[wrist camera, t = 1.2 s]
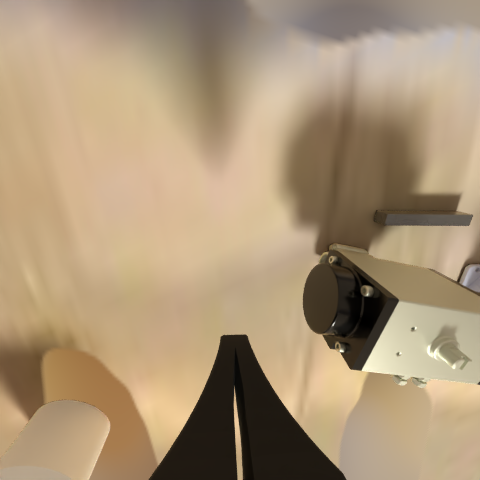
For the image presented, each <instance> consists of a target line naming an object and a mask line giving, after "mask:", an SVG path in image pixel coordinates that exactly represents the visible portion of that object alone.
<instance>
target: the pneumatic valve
mask: <svg viewBox="0 0 480 480" xmlns="http://www.w3.org/2000/svg"><path fill="white" fill-rule="evenodd" d="M303 310H304V315H305V319H306V321H307V324H308V326H309V327H310V329H311V330H312V331H314V332H315V333H317V334H322V335H323V337H324V339H325V341H326V342H327V344H328V346H329V348H330V349H336V350H337V351H338V352H340V353H341V355H342V356H343V358H344V360H345V361H346V363H347V365H348V366H349V368H350V369H351V370H360V371H368V372H376V373H385V374H390V376H391V378H392V380H393V381H395V382H396V383H397V384H399V385H406V383H407V379H410V380H411V381H412V382H413V383H414V384H415V385H416V386H418V387H421V388H423V387H426V385H427V383H426V382H428V381H430V379H435V380H444V381H452V382H461V383H469V384H477V385H480V292H476V291H473V290H471V289H470V288H468V287H466V286H464V285H462V284H460V283H458V282H456V281H454V280H452V279H450V278H449V277H447V276H445V275H443V274H441V273H439V272H437V271H435V270H433V269H428V268H423V267H418V266H413V265H408V264H403V263H398V262H393V261H388V260H383V259H377V258H374V257H373V256H371V255H369V253H368V252H367V251H366V250H365V249H362V248H357V247H352V246H347V245H342V244H337V243H333V244H332V245H330V246H329V252H324V253H323V254H322V255H321V257H320V259H319V264H318V265H316V266H315V267H314V268H313V269H312V270H311V272H310V273H309V275H308V277H307V280H306V283H305V287H304V293H303Z"/></svg>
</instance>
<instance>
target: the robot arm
mask: <svg viewBox="0 0 480 480" xmlns="http://www.w3.org/2000/svg"><path fill="white" fill-rule="evenodd" d="M459 283H460V284H462V285H464V286H466V287H468V288H470V289H471V290H473V291H476V292H480V264H471V265H468V266H467V267H466V268H465V270H464V273H463V275H462V277H461V280H460V282H459ZM234 386H235V394H236V402H237V411H238V419H239V427H240V435H241V447H242V467H243V480H346V478H345V476H344V474H343V473H342V472H341V471H340V470H339V469H338V468H337V467H336V466H335V465H334V464H333V463H332V462H331V461H330V460H329V459H328V457H327V456H326V455H325V454H324V453H323V452H322V451H321V450H320V449H319V448H318V447H317V446H316V444H315V443H314V442H313V441H312V440H311V439H310V438H309V436H308V435H307V434H306V433H305V432H304V430H303V429H302V428H301V427H300V425H299V424H298V423H297V422H296V420H295V419H294V418H293V417H292V415H291V414H290V413H289V411H288V410H287V409H286V407H285V406H284V404H283V403H282V402H281V400H280V399H279V397H278V396H277V394H276V393H275V391H274V389H273V388H272V386H271V385H270V383H269V381H268V380H267V378H266V376H265V374H264V373H263V371H262V369H261V367H260V365H259V363H258V361H257V359H256V357H255V355H254V352H253V350H252V348H251V345H250V343H249V340H248V336H247V335H223V336H221V340H220V345H219V350H218V353H217V357H216V360H215V362H214V365H213V368H212V371H211V373H210V376H209V378H208V380H207V383H206V385H205V387H204V390H203V392H202V394H201V396H200V398H199V400H198V402H197V404H196V406H195V408H194V410H193V412H192V413H191V415H190V417H189V419H188V421H187V422H186V424H185V426H184V427H183V429H182V431H181V432H180V434H179V436H178V437H177V439H176V440H175V442H174V443H173V445H172V447H171V448H170V450H169V451H168V453H167V454H166V456H165V457H164V459H163V460H162V462H161V463H160V464H159V466H158V467H157V469H156V470H155V471H154V473H153V474H152V476H151V477H150V478H149V480H237V463H236V445H235V426H234V405H233V404H234Z"/></svg>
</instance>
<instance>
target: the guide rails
mask: <svg viewBox="0 0 480 480" xmlns="http://www.w3.org/2000/svg"><path fill="white" fill-rule="evenodd" d="M472 217H473V215H472V214H467V213H462V212H458V211H384V210H376V214H375V218H374V221H375V222H378V223H380V224H383V225H421V226H469V225H470V222H471V220H472Z"/></svg>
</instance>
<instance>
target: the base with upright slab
mask: <svg viewBox="0 0 480 480" xmlns="http://www.w3.org/2000/svg"><path fill="white" fill-rule="evenodd" d="M109 431H110V422H109V420H108V418H107V416H106V415H105V414H104V413H103V412H102V411H101V410H99V409H97V408H96V407H94V406H92V405H90V404H87V403H85V402H80V401H76V400H59V401H53V402H50V403H47V404H44V405H43V406H42V407H40V408H39V409H38V410H37V411H36V412H35V414H34V415H33V416H32V418H31V419H30V420H29V422H28V423H27V424H26V426H25V427H24V428H23V430H22V431H21V432H20V434H19V435H18V436H17V438H16V439H15V440H14V442H13V443H12V444H11V446H10V447H9V448H8V450H7V451H6V452H5V454H4V455H3V456H2V458H1V459H0V480H89V478H90V476H91V473H92V471H93V469H94V466H95V464H96V462H97V459H98V457H99V454H100V452H101V450H102V447H103V445H104V443H105V440H106V438H107V436H108V433H109Z"/></svg>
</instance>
